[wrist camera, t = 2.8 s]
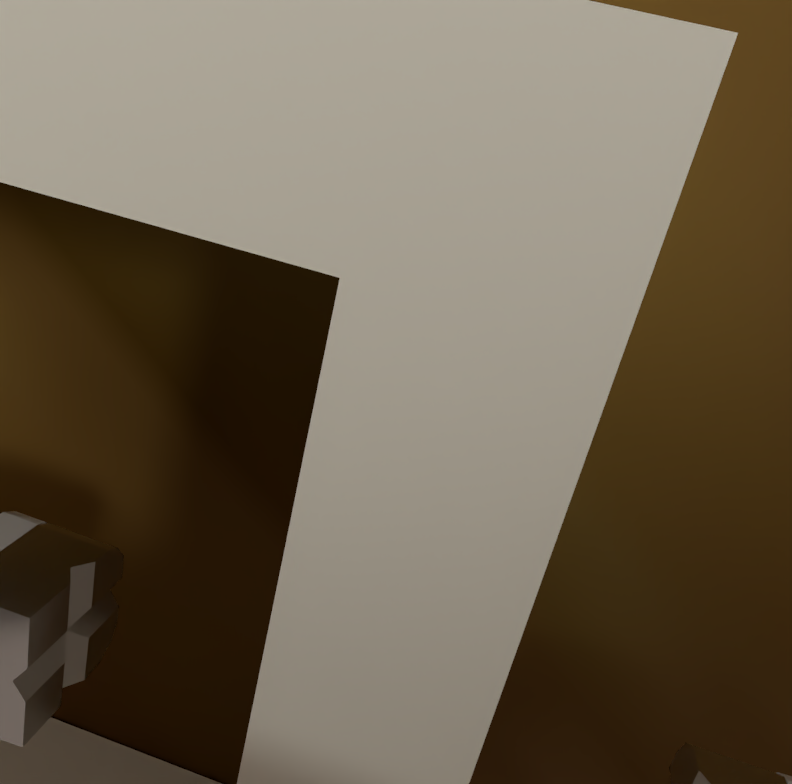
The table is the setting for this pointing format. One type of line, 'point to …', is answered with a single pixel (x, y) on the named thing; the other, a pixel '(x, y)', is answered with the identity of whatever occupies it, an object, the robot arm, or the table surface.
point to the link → (385, 310)
